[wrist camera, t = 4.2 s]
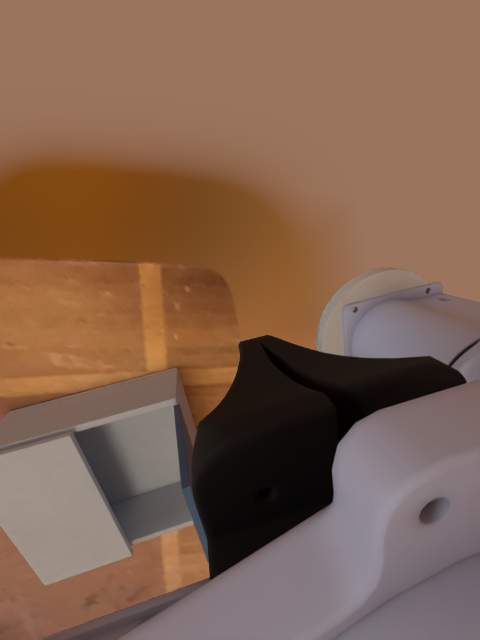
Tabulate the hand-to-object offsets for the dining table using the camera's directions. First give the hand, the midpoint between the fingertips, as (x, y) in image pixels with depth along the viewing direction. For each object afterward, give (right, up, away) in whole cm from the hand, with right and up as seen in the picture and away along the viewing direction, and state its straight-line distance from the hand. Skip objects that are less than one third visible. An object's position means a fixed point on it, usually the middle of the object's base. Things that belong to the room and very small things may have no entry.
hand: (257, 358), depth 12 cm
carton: (-11, -9, +12) cm, 19 cm away
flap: (-3, -10, +5) cm, 12 cm away
